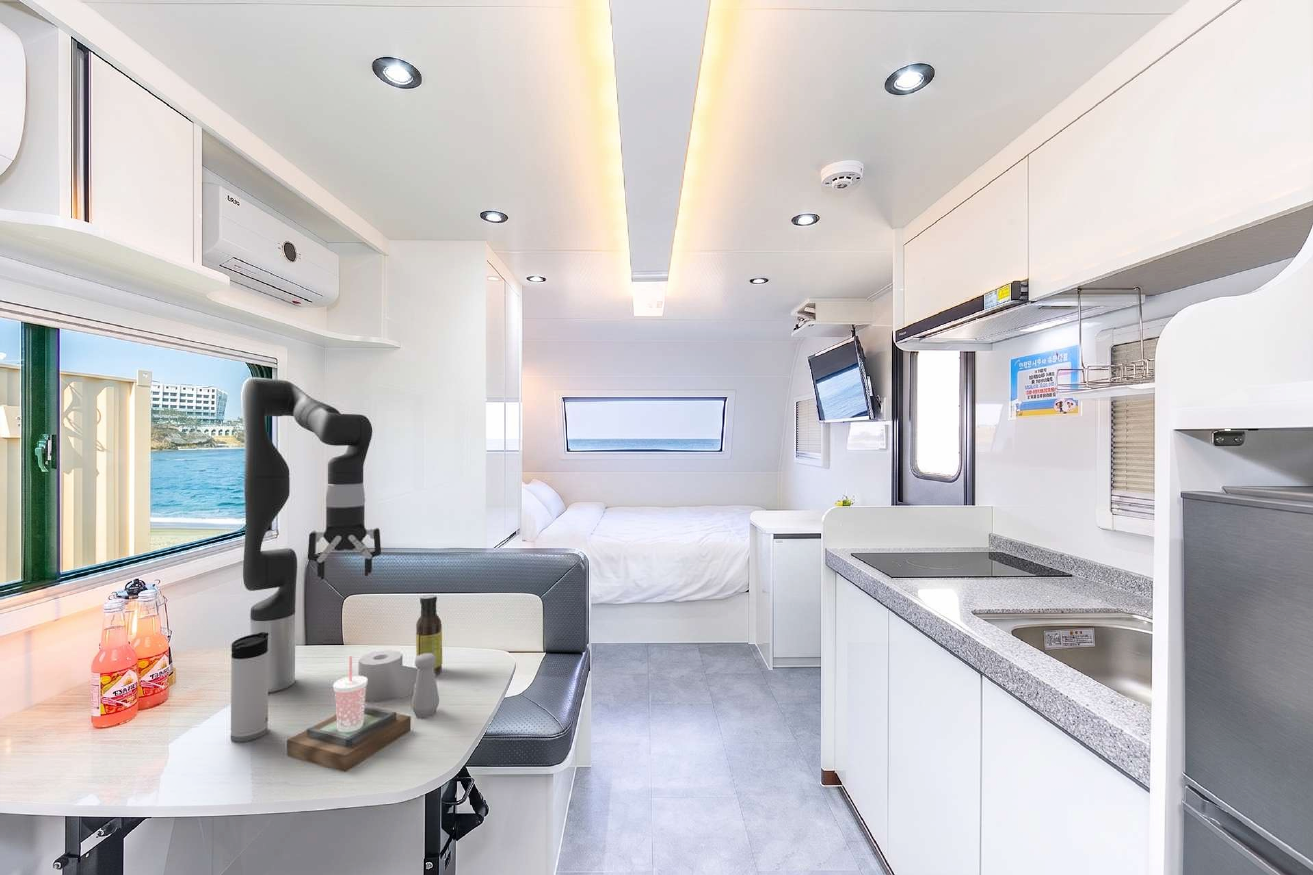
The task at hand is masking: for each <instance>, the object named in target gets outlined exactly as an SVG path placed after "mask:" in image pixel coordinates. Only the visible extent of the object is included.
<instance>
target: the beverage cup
mask: <svg viewBox="0 0 1313 875" xmlns="http://www.w3.org/2000/svg"><path fill="white" fill-rule="evenodd" d="M348 660H349V664H348V665H349V667H348V669H349V670H348V671H349V673H348V674H349V676H347V677H343V678H340V679H338V680H336V681H334V682H333V685H332V686H333V690H334V695H335V711H336V713H335V715H337V729H338V731H339V732H352V731H355V730H357V729H360V728H361V727H362V726H363V721H364V707H365V706H366V701H365V693H366V685H367V681H368V679H367V677H364V676H358V675H353V656H349V658H348Z"/></svg>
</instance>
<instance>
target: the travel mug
mask: <svg viewBox="0 0 1313 875" xmlns="http://www.w3.org/2000/svg"><path fill="white" fill-rule="evenodd" d="M267 646H268V633H265V632H260V633H259V634H252V635H250V634H248V635H245V636H242V637H239V638H238V639H236V640H234V641H233V642H232V643H231V647H230V648H231V655H230V659H231V660H230V739H231V741H233V742H235V743H244V742H250V741H253V740H256V739H259V738H260V737H262V736H264V735H265V734H266V733H267V732H268V730H269V724H268V722H269V693H268V647H267Z"/></svg>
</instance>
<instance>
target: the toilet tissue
mask: <svg viewBox="0 0 1313 875" xmlns="http://www.w3.org/2000/svg"><path fill="white" fill-rule="evenodd" d="M403 656H404V654H403V653H402V652H400V651H399V650H396V649H395V650H393V649H384V650H377V651H373V652H369V653H367V654H364V655H362V656H361V657H360V658H359V659H358V671H357V672H358V674H357V676H364V677H367V679H368V681H367V685H366V693H365V702H371V703H376V702H381V701H388V700H393V699H397V698H398V699H399V698H400V699H401V698H403V697H406V696H410V695H412V694H414V689H415V683H416V678H417V672H418V668H417V667H412V666H408V665H407V666H406V665H403Z"/></svg>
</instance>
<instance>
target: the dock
mask: <svg viewBox="0 0 1313 875" xmlns="http://www.w3.org/2000/svg"><path fill="white" fill-rule="evenodd" d="M411 720H412V716H410V715H406V714H400V713H397V712H396V711H391V710H388V709H387V710H386V709H383V708H378V707H373V706H370V705H365V707H364V721H363V726H362V727H361V728H360V729H357V730H355V731H352V732H339V731H338V729H337V715H336V714H335V715H332V716H331V717H329V718H326V719H325V720H324V721H321V722H319V723H318V724H315V725H313V726H312V727H309V728H308V727H307V729H305V730H304V731H302V732H300V733H298V734H296V735H294V736H291V737H290V738H288V739H287V740H286V755H287V756H288V757H291V758H295V759H298V760H302V761H306V762H309V763H312V764H315V765H316V764H317V765H320V766H323V767H328V768H331V769H334V770H338V771H341V772H347V771H349V770H351V769H353V768H354V767H356V766H357V765H359V764H360V763H362V762H363V761H365V760H367V759H368V758H370V757H371V756H373V755H375V754H376V753H377V752H379V751H381V750H382V749H384V748H386V747H388V745H390V744H392V743H393V742H395V741H397V740H398V739H400V738H401V737H403V736H405V735H406V734H408V733H409V732H411V731H412V729H411V728H412V726H411V724H412V723H411V722H412V721H411Z"/></svg>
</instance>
